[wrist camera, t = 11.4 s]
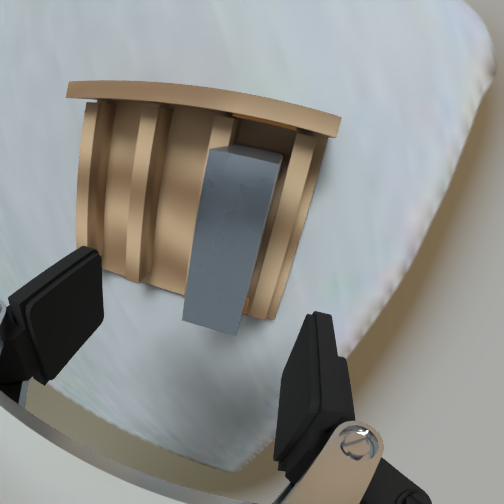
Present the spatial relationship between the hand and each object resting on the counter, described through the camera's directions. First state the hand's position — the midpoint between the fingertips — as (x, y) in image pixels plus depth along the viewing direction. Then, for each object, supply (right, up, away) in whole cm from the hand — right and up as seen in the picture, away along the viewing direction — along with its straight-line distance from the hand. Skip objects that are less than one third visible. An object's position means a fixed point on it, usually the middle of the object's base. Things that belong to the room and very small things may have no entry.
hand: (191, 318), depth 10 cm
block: (+2, +5, +12) cm, 13 cm away
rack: (-3, +6, +13) cm, 15 cm away
